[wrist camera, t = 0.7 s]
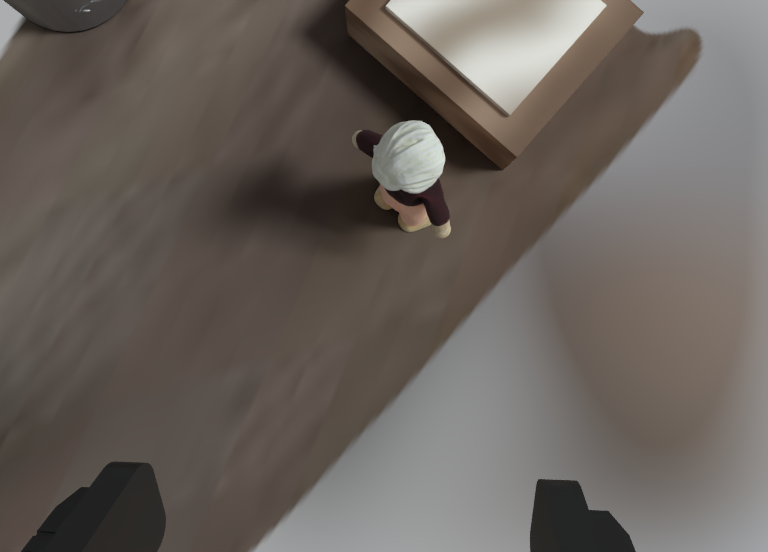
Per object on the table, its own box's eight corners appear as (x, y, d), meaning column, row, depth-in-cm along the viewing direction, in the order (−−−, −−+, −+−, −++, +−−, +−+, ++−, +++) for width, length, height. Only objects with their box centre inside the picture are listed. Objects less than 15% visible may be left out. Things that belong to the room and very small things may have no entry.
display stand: (347, 34, 36) (344, 1, 32) (463, -95, 36) (474, -143, 32) (502, 170, 36) (518, 155, 32) (617, 39, 36) (647, 8, 32)
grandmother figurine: (462, 207, 35) (511, 162, 23) (429, 253, 35) (460, 234, 23) (370, 141, 35) (368, 59, 23) (337, 186, 35) (316, 130, 23)
